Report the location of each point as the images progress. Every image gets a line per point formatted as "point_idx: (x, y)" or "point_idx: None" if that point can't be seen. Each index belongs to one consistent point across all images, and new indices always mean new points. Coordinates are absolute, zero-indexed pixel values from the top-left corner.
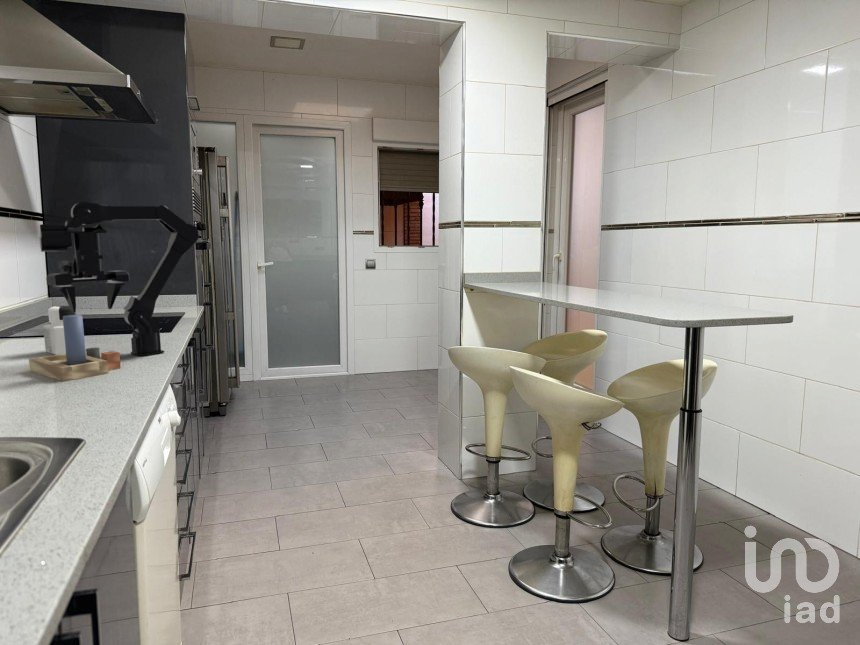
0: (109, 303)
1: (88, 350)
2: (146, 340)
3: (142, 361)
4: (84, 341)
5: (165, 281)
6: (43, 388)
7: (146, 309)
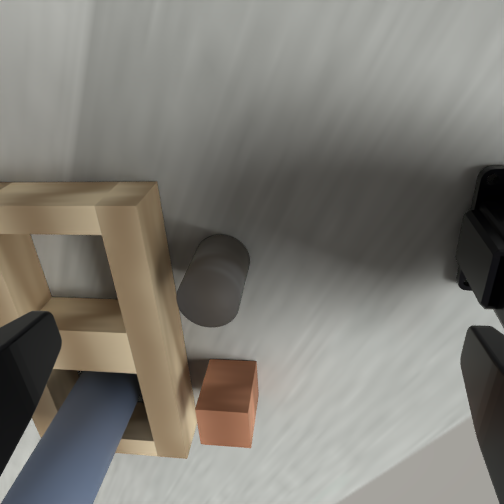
0: (485, 414)
1: (183, 309)
2: None
3: (379, 361)
4: (96, 494)
5: None
6: None
7: None
